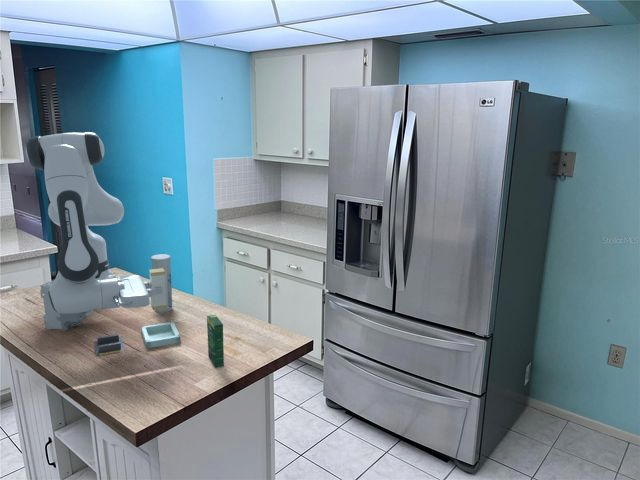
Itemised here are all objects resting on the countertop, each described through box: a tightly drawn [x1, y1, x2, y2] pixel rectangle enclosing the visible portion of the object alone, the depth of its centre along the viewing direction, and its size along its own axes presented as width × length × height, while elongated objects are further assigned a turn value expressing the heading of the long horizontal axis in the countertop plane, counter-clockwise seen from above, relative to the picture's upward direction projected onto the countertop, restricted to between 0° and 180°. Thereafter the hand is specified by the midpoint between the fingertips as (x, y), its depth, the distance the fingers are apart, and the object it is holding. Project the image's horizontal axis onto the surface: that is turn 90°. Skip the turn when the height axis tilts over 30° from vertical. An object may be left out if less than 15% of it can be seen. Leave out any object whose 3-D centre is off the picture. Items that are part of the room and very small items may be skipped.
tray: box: [141, 321, 181, 349], centre depth 149 cm, size 12×10×3 cm
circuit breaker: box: [39, 279, 94, 331], centre depth 154 cm, size 8×14×15 cm, turn 78°
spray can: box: [150, 253, 173, 313], centre depth 171 cm, size 6×6×20 cm
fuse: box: [148, 268, 167, 311], centre depth 145 cm, size 4×4×12 cm
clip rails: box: [93, 333, 126, 357], centre depth 142 cm, size 10×8×2 cm
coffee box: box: [206, 314, 225, 369], centre depth 135 cm, size 8×3×13 cm, turn 27°
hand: (160, 287), depth 146 cm, fingers closed on fuse, 3 cm apart
